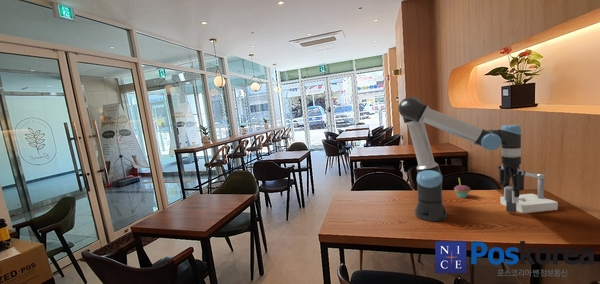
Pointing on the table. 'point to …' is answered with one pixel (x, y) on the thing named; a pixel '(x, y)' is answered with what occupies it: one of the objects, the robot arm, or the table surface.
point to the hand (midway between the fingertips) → (511, 201)
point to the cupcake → (462, 190)
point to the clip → (535, 175)
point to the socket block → (534, 201)
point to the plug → (510, 200)
